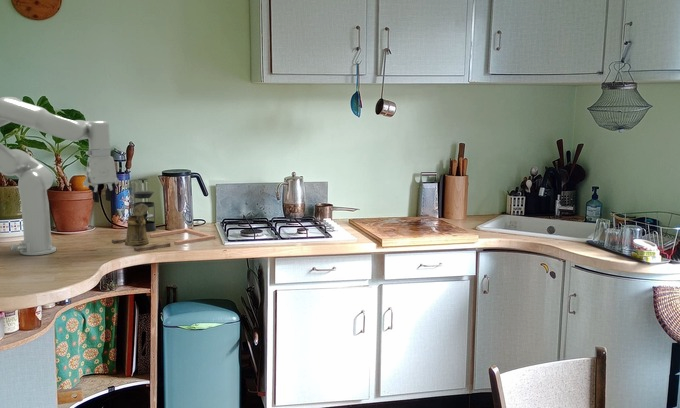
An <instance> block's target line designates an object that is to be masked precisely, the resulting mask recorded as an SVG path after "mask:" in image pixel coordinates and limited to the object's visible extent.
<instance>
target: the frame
mask: <svg viewBox="0 0 680 408" xmlns="http://www.w3.org/2000/svg"><path fill="white" fill-rule="evenodd" d="M183 233H187V234H191V235H195V236H197V237H194V238H187V239H180V240H175V241H174V245H176V246H179V245H185V244H192V243H196V242H197V243H198V242H203V241H208V240H209V241H210V240H216V235H214V234H209V233H206V232H202V231H198V230H194V229H191V228H187V227H186V228H181V229H173V230H168V231H161V232H160V231H159V232H154V233H150V234H149V236H150V238H158V237H164V236H171V235H177V234H183Z"/></svg>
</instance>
